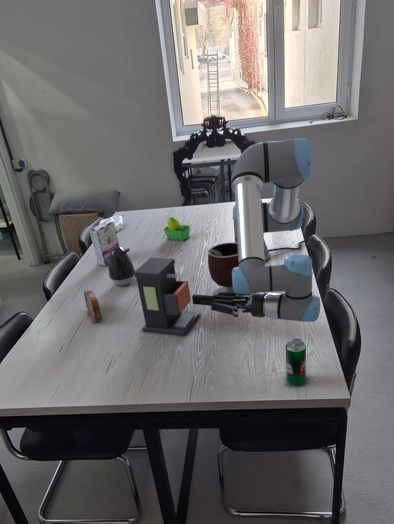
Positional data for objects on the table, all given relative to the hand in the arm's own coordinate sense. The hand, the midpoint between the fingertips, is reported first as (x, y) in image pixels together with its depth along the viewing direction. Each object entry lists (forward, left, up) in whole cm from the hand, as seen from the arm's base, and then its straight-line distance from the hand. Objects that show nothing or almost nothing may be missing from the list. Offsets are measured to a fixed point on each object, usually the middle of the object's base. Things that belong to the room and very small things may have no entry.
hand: (193, 299), depth 153 cm
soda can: (-28, +33, -10) cm, 44 cm away
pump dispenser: (+31, -39, -10) cm, 51 cm away
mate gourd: (-11, -20, -10) cm, 25 cm away
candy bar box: (+42, -64, -10) cm, 77 cm away
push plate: (+4, -1, -3) cm, 5 cm away
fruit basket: (+13, -84, -10) cm, 86 cm away
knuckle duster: (+50, -111, -10) cm, 122 cm away
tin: (+37, -13, -10) cm, 41 cm away
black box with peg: (+9, -3, -10) cm, 14 cm away
